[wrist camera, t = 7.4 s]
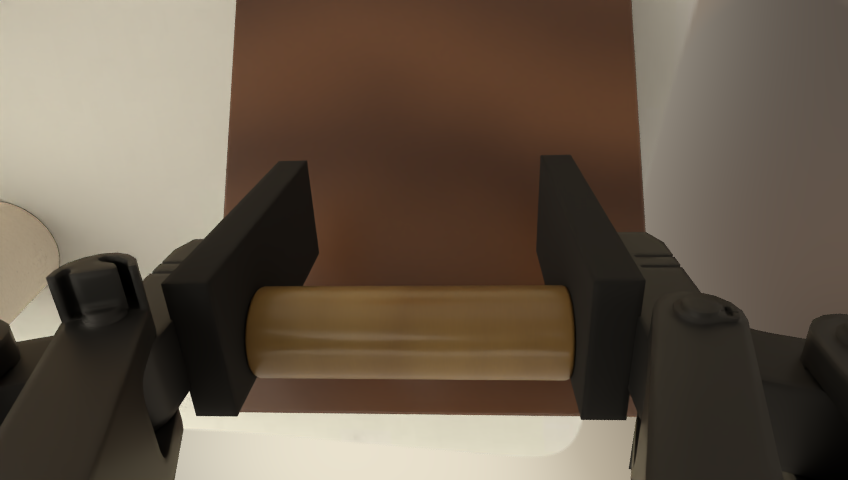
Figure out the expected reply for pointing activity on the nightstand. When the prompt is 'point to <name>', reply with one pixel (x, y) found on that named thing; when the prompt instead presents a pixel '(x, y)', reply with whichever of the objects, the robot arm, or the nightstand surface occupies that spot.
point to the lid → (428, 194)
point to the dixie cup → (23, 259)
